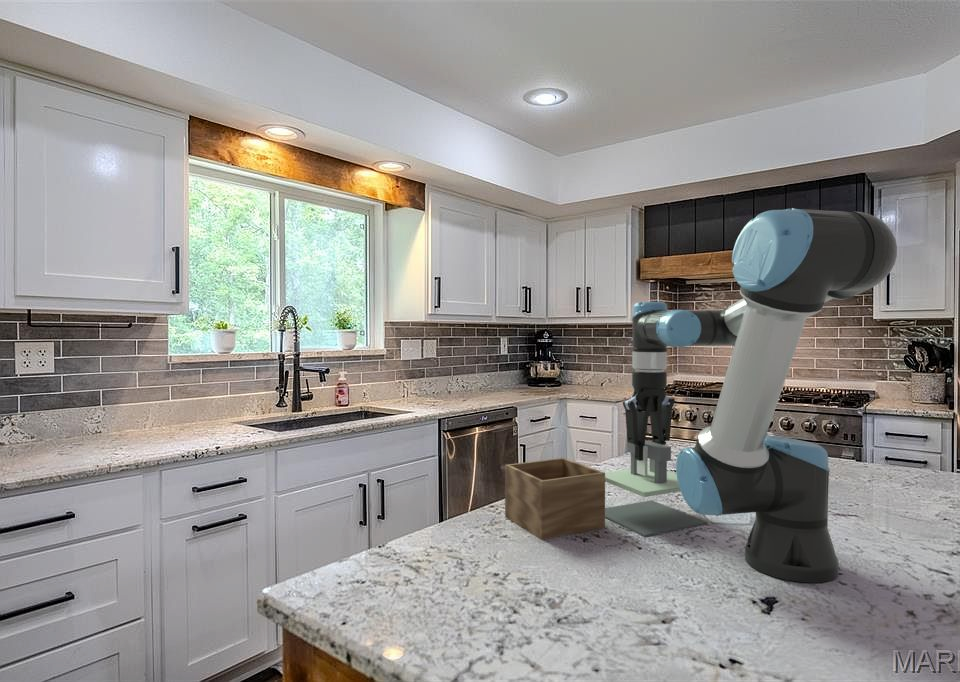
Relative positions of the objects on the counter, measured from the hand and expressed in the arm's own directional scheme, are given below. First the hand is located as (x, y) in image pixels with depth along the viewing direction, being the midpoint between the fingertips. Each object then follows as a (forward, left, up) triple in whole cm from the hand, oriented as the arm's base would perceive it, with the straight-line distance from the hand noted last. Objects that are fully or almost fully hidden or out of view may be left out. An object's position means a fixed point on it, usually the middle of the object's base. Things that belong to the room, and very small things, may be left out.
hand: (648, 473), depth 135 cm
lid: (0, 0, -2) cm, 2 cm away
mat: (0, 0, -10) cm, 10 cm away
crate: (+7, +21, -10) cm, 24 cm away
